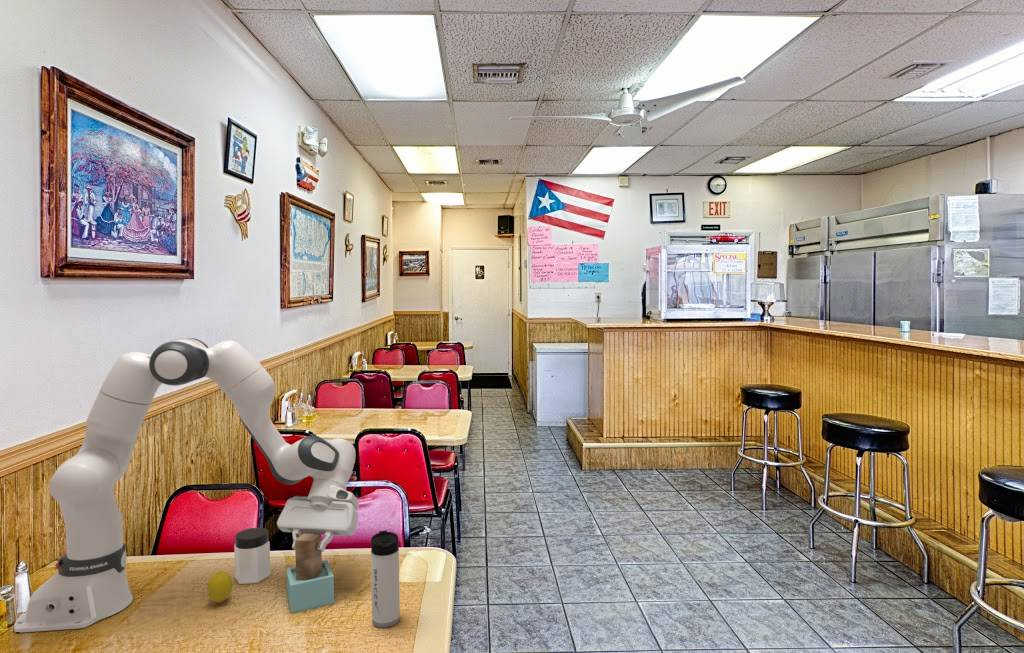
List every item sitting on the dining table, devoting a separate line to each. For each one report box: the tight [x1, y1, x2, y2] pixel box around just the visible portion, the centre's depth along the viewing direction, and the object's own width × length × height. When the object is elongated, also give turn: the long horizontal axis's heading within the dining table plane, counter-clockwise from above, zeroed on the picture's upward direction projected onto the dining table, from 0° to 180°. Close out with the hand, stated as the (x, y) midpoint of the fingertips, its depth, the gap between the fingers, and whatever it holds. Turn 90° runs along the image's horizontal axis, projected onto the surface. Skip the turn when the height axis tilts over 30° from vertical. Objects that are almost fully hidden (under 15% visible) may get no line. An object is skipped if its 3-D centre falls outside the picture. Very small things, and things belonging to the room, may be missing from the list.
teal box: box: [285, 559, 335, 614], centre depth 142 cm, size 10×10×7 cm
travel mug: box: [370, 530, 401, 629], centre depth 132 cm, size 6×7×20 cm
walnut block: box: [294, 533, 323, 581], centre depth 142 cm, size 4×4×10 cm
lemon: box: [206, 570, 233, 604], centre depth 140 cm, size 6×6×8 cm
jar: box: [233, 527, 271, 585], centre depth 153 cm, size 9×8×12 cm
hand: (307, 549), depth 141 cm, fingers open, 5 cm apart
